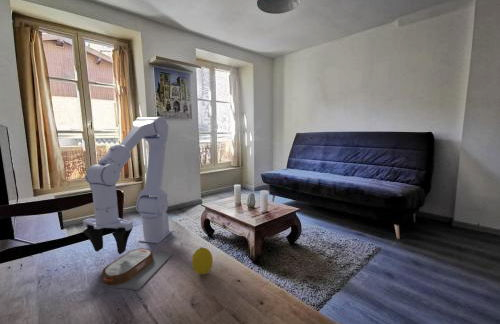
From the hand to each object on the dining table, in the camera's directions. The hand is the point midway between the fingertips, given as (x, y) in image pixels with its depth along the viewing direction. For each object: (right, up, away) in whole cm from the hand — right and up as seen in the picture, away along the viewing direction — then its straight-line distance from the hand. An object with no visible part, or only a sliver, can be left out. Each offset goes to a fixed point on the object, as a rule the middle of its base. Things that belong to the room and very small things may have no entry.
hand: (110, 251), depth 70 cm
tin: (+2, -3, 0) cm, 4 cm away
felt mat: (+9, -5, 0) cm, 10 cm away
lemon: (+28, -6, -3) cm, 28 cm away
